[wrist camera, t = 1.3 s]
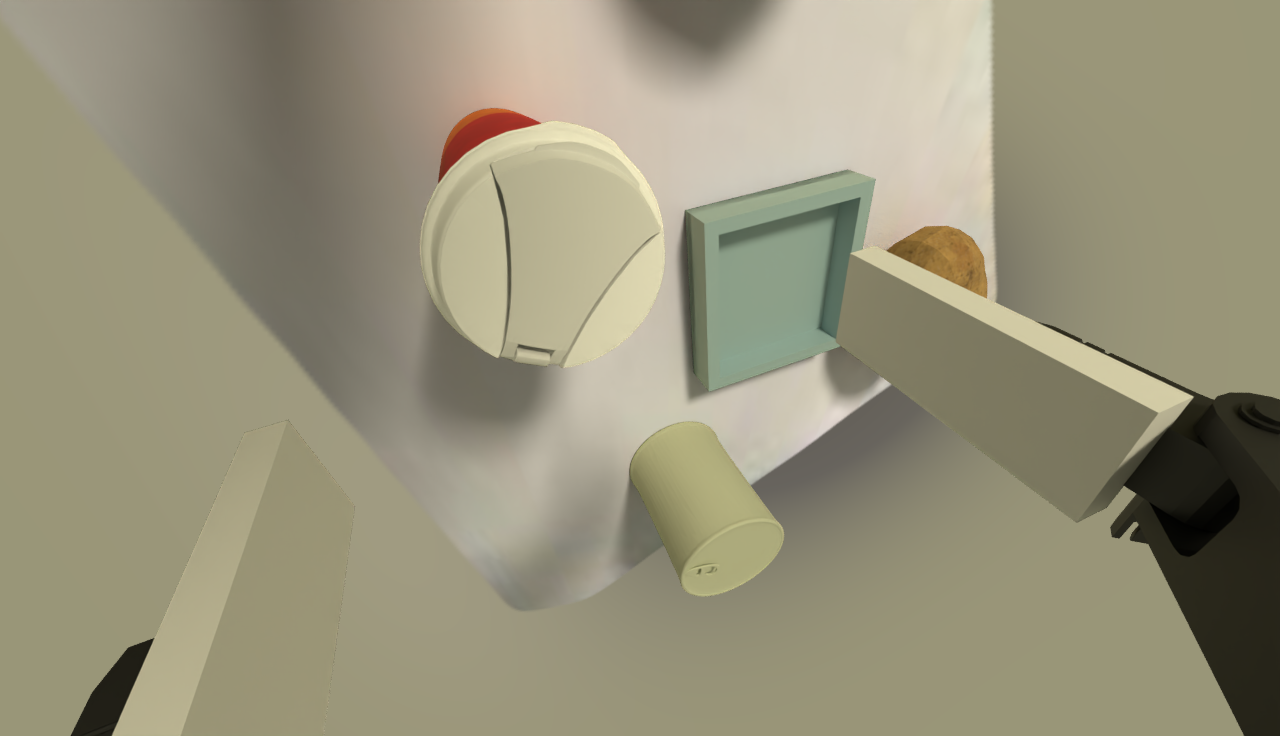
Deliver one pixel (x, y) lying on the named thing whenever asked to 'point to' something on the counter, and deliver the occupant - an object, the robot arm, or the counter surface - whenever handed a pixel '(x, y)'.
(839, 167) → the counter surface
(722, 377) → the tray
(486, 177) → the coffee cup
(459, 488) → the counter surface
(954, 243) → the potato
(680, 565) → the can
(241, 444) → the robot arm
